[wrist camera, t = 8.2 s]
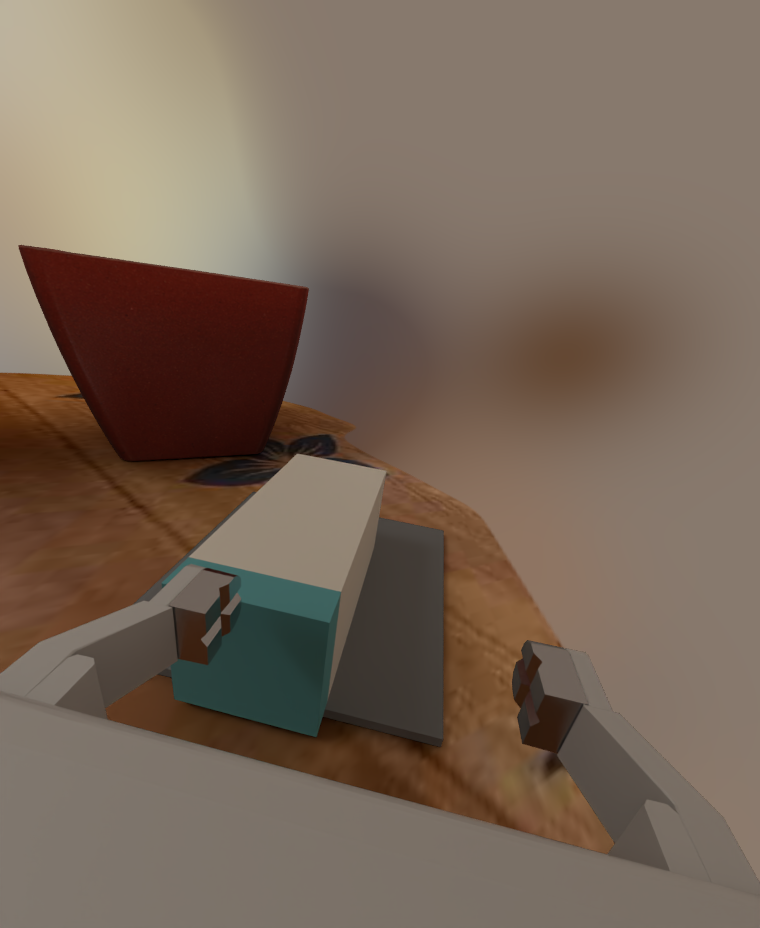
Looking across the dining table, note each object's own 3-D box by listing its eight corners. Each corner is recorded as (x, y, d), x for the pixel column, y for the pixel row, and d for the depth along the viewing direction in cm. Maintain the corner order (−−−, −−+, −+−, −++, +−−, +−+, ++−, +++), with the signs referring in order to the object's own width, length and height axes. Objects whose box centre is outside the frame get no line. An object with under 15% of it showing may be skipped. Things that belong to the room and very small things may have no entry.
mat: (440, 747, 15) (443, 739, 15) (88, 655, 17) (86, 648, 17) (442, 535, 30) (443, 530, 30) (253, 496, 32) (253, 491, 31)
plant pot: (62, 483, 30) (9, 238, 23) (100, 411, 45) (75, 251, 38) (301, 467, 38) (312, 286, 32) (264, 411, 54) (267, 281, 47)
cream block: (161, 582, 13) (297, 453, 25) (174, 699, 15) (293, 529, 27) (329, 623, 12) (386, 470, 24) (316, 737, 15) (374, 547, 27)
